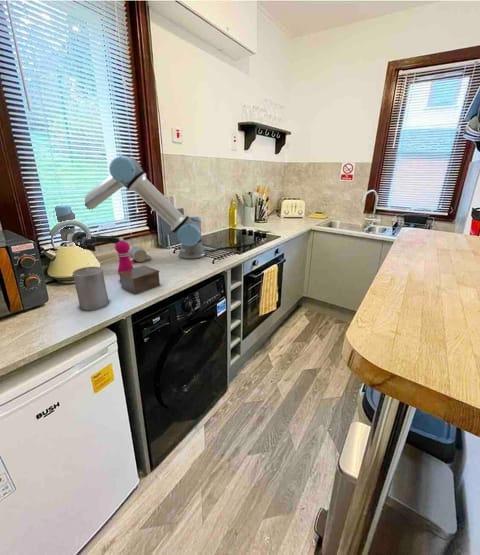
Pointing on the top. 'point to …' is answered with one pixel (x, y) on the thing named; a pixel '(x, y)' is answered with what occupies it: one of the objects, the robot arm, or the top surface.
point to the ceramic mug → (138, 254)
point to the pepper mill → (123, 256)
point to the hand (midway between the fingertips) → (108, 244)
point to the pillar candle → (90, 288)
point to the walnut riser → (139, 279)
